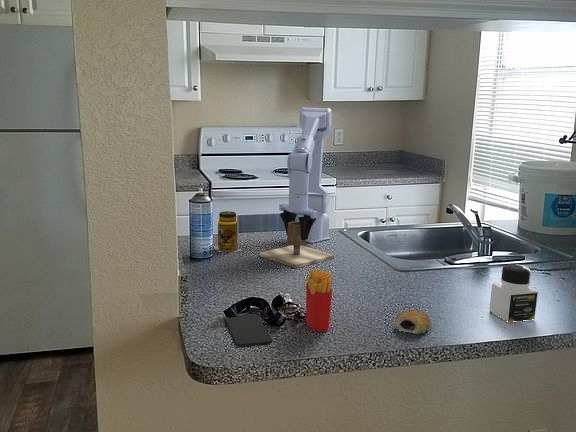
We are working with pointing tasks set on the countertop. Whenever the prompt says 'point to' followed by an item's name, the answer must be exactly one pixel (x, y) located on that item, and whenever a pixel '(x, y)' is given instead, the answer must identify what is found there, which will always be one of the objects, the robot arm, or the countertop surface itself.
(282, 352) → the countertop surface
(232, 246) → the condiment
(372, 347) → the countertop surface
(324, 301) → the french fries
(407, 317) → the pastry
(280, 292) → the countertop surface
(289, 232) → the collar
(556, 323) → the countertop surface
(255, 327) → the phone
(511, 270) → the medicine bottle
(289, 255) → the post board
